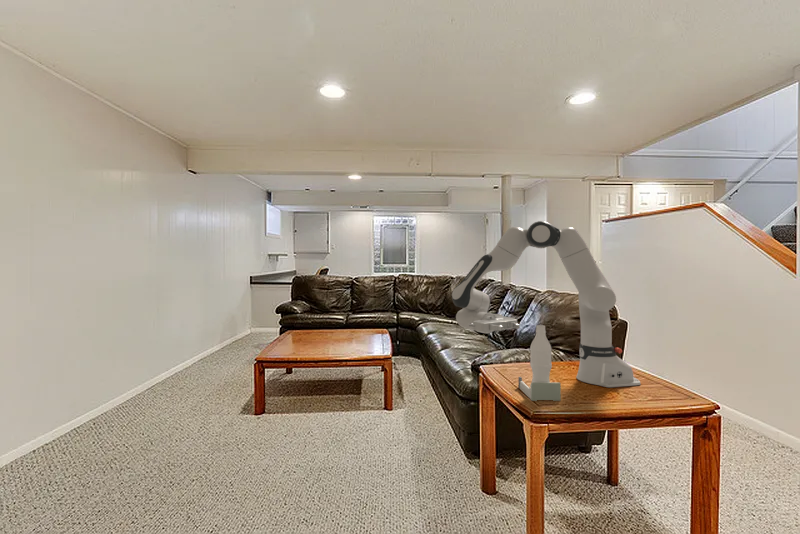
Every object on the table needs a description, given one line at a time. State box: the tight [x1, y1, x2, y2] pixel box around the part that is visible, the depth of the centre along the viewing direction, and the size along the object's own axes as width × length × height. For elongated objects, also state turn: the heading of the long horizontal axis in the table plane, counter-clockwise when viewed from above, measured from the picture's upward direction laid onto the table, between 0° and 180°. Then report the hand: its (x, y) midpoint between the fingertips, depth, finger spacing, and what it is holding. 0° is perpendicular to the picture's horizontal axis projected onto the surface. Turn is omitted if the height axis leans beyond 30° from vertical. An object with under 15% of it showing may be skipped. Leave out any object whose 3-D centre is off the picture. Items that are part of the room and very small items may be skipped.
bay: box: [518, 376, 562, 402], centre depth 134 cm, size 10×14×6 cm
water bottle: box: [529, 324, 553, 389], centre depth 131 cm, size 7×7×25 cm
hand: (509, 327), depth 146 cm, fingers open, 8 cm apart
